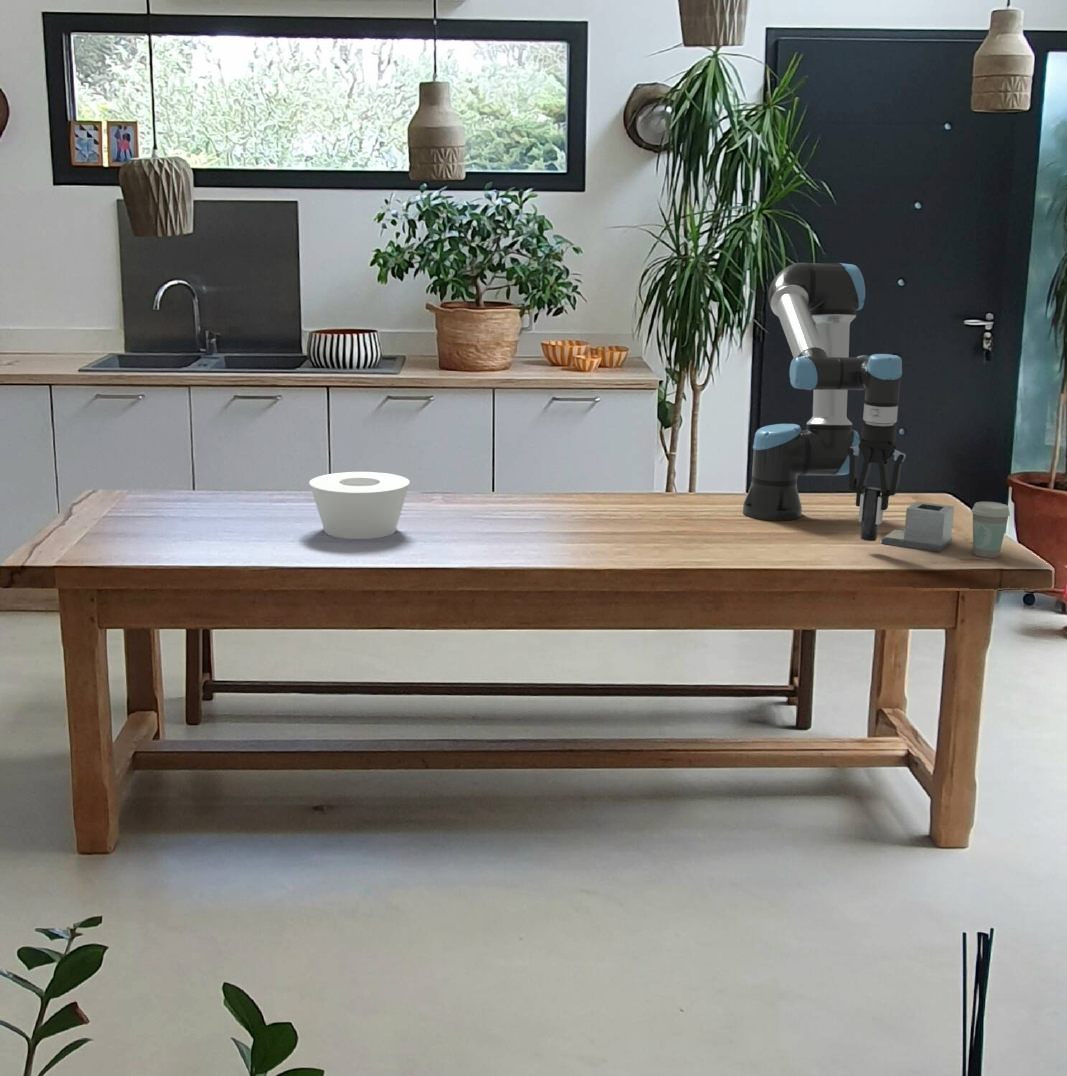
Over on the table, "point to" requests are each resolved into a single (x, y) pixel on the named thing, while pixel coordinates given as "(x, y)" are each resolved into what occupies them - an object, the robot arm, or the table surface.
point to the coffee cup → (989, 528)
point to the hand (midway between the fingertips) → (870, 521)
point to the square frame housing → (924, 528)
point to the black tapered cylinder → (870, 514)
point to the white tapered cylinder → (359, 503)
